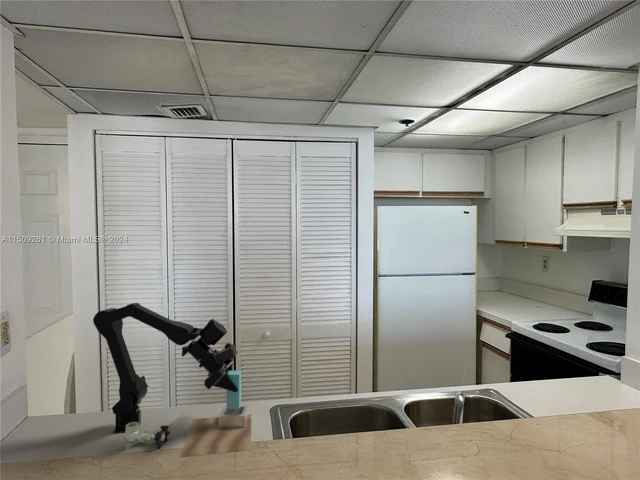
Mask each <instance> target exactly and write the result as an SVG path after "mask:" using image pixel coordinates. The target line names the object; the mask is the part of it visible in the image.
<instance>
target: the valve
mask: <svg viewBox="0 0 640 480" xmlns="http://www.w3.org/2000/svg"><path fill="white" fill-rule="evenodd" d="M139 427H140V425H139V422H131V423H128V424H127V425H126V432H124V435H123V440H124V442H125V451H127V450H129V449H131V448H132V447H135V446H136V445H138V444H139V443H144V442H146V441H153V440H154V445H157V446H156V449H155V450H161V449H162V447H164V445H165V444H166V443H167V442H168V441H169V440H170V439H169V438H168V437H169V435H170V434H171V431H170V430H169V428H170V426H169V425H166V424H165V425H160V429H161V430H160V431H157V432H156V433H149V432H147V430H140V428H139Z"/></svg>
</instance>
